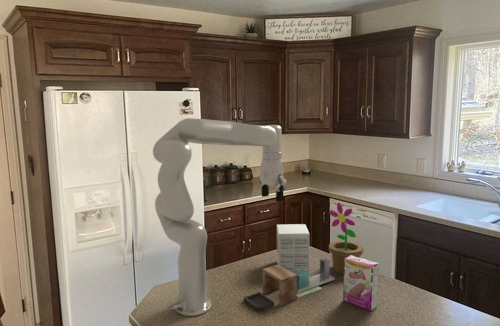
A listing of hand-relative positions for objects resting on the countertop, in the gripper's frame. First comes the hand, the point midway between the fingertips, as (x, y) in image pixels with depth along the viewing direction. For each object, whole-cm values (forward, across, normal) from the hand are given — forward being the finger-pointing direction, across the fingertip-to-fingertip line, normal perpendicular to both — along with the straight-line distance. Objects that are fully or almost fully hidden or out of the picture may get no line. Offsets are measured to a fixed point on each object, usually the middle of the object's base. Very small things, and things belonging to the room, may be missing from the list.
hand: (272, 198), depth 161 cm
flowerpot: (+34, +12, +30) cm, 47 cm away
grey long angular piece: (+33, +15, +8) cm, 37 cm away
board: (+33, +15, +3) cm, 37 cm away
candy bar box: (+34, +36, +12) cm, 51 cm away
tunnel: (+33, +15, -8) cm, 37 cm away
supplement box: (+34, -3, +13) cm, 36 cm away
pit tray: (+33, +15, -18) cm, 40 cm away
